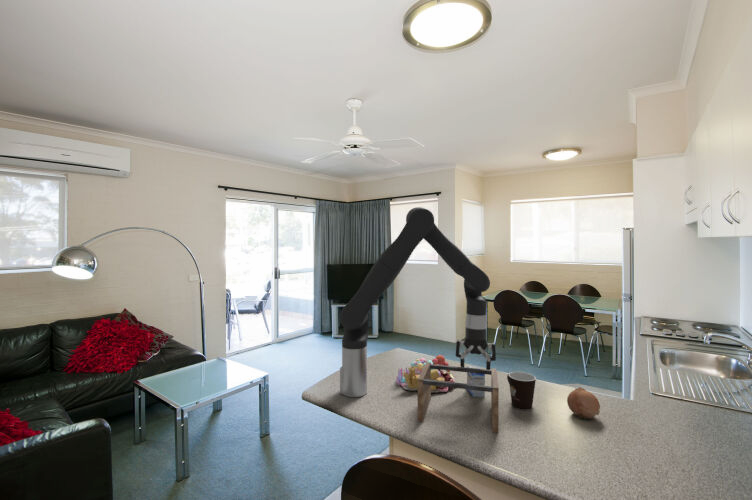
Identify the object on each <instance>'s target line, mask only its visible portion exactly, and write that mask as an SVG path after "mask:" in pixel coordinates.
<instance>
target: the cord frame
mask: <svg viewBox="0 0 752 500" xmlns="http://www.w3.org/2000/svg"><path fill="white" fill-rule="evenodd" d="M431 369H438V370H442V371H446V370H449V371H450V372H459V373H460V372H461V373H467V372H468V373H478V374H485V375H490V376H491V381H490V382H491V384H490V386H489V385H485V386H482V385H473V384H467V383H462V382H456V381H455V382H446V381H437V380H431ZM497 371H498V370H497V368H493V367H492V368H491V367H490V370H486V368H480V369H476V368H467V367H465V366H464V367H461V366H452V365H449V366H445V365H438V364H437V365H434V364H431V363H430V362H426V364H425V366H424V368H423V370H422V372H421V374H420V376H419V378H418V390H417V422H421V423H423V422H424V419H425V417H426V413H427V411H428V408H429V406H430V403H431V401H432V394H431V385H433V386H442V387H451V388H453V389H461V390H467V391H468V390H477V391H485V393H486V392H488V393H490V394H491V397H490V404H491V407H490V409H491V410H490V411H491V426H492V427H491V428H492V433H499V420H500V419H499V413H500V412H499V407H500V406H499V403H500V402H499V397H500V395H499V379H498V372H497Z"/></svg>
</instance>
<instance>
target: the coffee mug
mask: <svg viewBox="0 0 752 500" xmlns="http://www.w3.org/2000/svg"><path fill="white" fill-rule="evenodd" d="M506 379H507V382H508V385H509V392H510V400H511V405H512V407H513V408H515V409H517V410H521V411H529V410H531V409H533V403H534V395H535V388H536V382H537V377H536V376H535V375H533V374H531V373H528V372H524V371H511V372H509V373H508V374H507V375H506Z"/></svg>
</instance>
